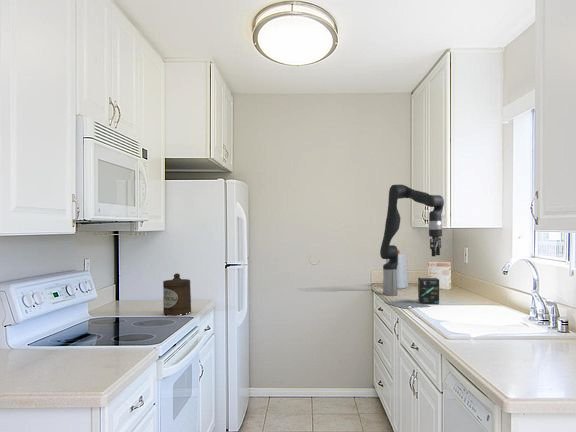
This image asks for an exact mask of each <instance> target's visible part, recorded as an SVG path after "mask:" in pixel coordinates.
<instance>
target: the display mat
mask: <svg viewBox="0 0 576 432" xmlns="http://www.w3.org/2000/svg"><path fill="white" fill-rule="evenodd" d="M383 303H384V304H387V305H390V306H394V307H396V308H399V309H403V310H404V309H409V308H408V307H409V306H411V307H420V308H430V307H432V306H431V305H429V304H421V303H420V302H418V301H417V302H416V301H412V300H397V301H385V302H383Z"/></svg>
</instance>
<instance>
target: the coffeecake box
mask: <svg viewBox="0 0 576 432" xmlns="http://www.w3.org/2000/svg"><path fill="white" fill-rule="evenodd" d="M451 263H452V262H451V261H428V262H427V272H428V273H427V278H437V279H439V290H445V291H446V290H448V291H449V290H452V267H451V266H452V264H451Z"/></svg>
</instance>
